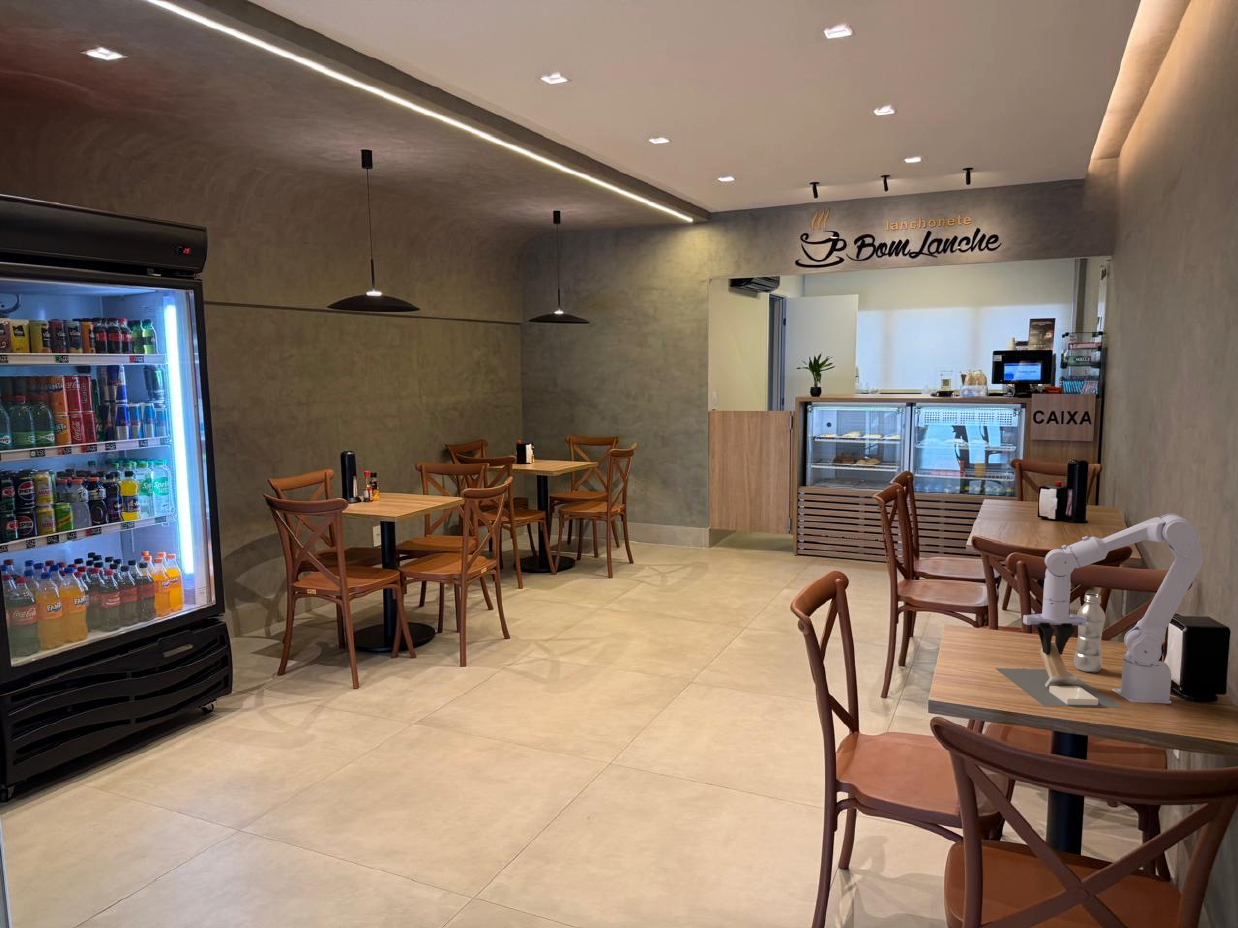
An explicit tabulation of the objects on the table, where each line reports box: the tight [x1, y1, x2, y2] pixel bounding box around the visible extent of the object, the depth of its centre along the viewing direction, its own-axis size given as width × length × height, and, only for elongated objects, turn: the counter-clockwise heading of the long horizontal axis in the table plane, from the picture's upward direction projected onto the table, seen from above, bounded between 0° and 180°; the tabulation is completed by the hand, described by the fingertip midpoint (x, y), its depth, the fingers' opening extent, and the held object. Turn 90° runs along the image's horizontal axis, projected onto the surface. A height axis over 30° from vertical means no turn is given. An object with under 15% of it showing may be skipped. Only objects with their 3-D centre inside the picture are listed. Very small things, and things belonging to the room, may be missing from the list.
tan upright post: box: [1039, 642, 1078, 688], centre depth 202 cm, size 6×10×4 cm
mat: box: [994, 667, 1124, 709], centre depth 201 cm, size 18×25×1 cm
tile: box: [1049, 686, 1098, 706], centre depth 193 cm, size 7×2×8 cm
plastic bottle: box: [1073, 592, 1107, 673], centre depth 213 cm, size 6×7×20 cm
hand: (1052, 653), depth 203 cm, fingers closed on tan upright post, 2 cm apart
